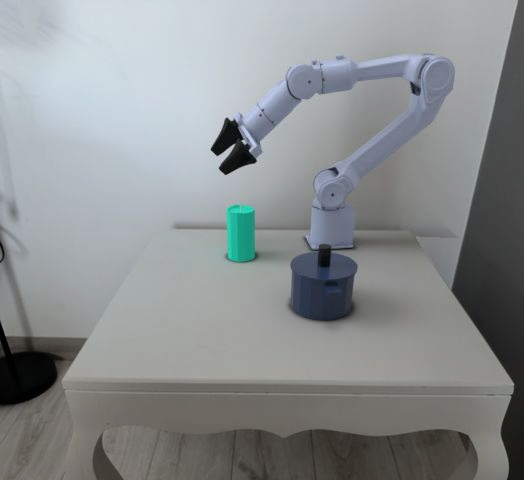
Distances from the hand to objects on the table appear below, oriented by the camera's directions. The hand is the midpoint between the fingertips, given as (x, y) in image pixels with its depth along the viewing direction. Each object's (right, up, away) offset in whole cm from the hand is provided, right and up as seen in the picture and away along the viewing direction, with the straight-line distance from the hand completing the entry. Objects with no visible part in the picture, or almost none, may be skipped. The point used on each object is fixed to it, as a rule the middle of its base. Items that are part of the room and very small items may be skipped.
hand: (217, 162), depth 107 cm
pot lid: (+20, -25, -18) cm, 37 cm away
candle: (+5, -19, +4) cm, 20 cm away
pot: (+20, -31, -14) cm, 40 cm away
